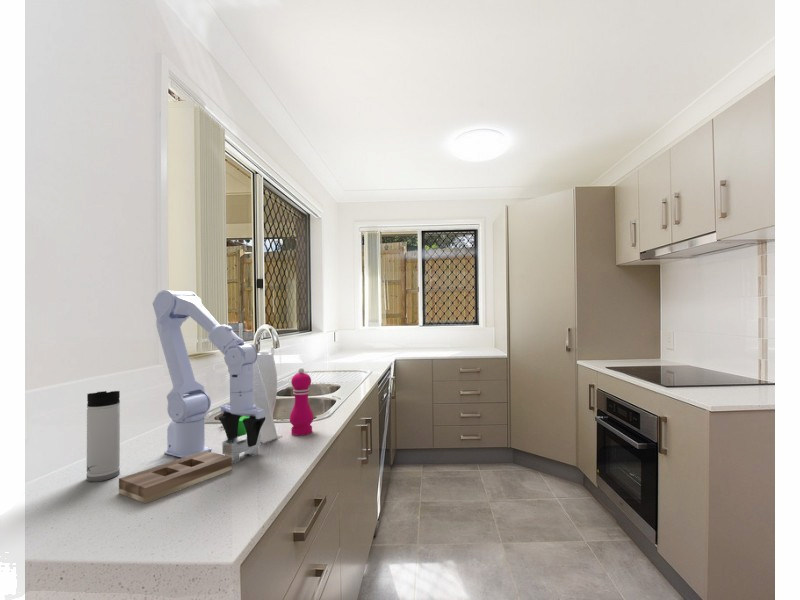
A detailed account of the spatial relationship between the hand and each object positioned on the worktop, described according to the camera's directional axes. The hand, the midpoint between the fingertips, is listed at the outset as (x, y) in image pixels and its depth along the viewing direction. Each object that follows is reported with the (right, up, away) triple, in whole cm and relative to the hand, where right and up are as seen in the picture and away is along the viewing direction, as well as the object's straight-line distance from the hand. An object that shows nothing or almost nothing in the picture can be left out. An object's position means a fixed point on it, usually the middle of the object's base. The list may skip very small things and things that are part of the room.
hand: (242, 443), depth 108 cm
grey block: (0, -4, 0) cm, 4 cm away
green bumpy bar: (-8, -5, +23) cm, 25 cm away
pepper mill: (+10, -4, +22) cm, 24 cm away
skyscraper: (+1, -5, +16) cm, 16 cm away
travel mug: (-28, -4, -12) cm, 30 cm away
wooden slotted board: (-9, -3, -15) cm, 17 cm away
